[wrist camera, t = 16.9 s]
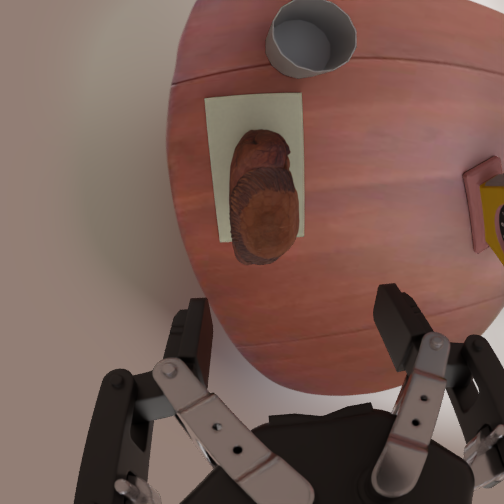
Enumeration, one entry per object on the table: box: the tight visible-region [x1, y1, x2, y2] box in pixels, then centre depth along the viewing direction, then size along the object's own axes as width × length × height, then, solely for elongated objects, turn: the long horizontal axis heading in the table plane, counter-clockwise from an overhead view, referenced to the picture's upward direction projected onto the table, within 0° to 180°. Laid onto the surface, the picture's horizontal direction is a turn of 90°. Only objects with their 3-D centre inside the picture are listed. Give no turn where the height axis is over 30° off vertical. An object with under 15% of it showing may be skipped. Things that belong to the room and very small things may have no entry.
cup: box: [265, 0, 356, 79], centre depth 27 cm, size 8×8×10 cm
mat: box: [205, 93, 304, 242], centre depth 38 cm, size 20×12×1 cm, turn 4°
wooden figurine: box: [229, 129, 300, 265], centre depth 30 cm, size 12×6×18 cm, turn 1°
